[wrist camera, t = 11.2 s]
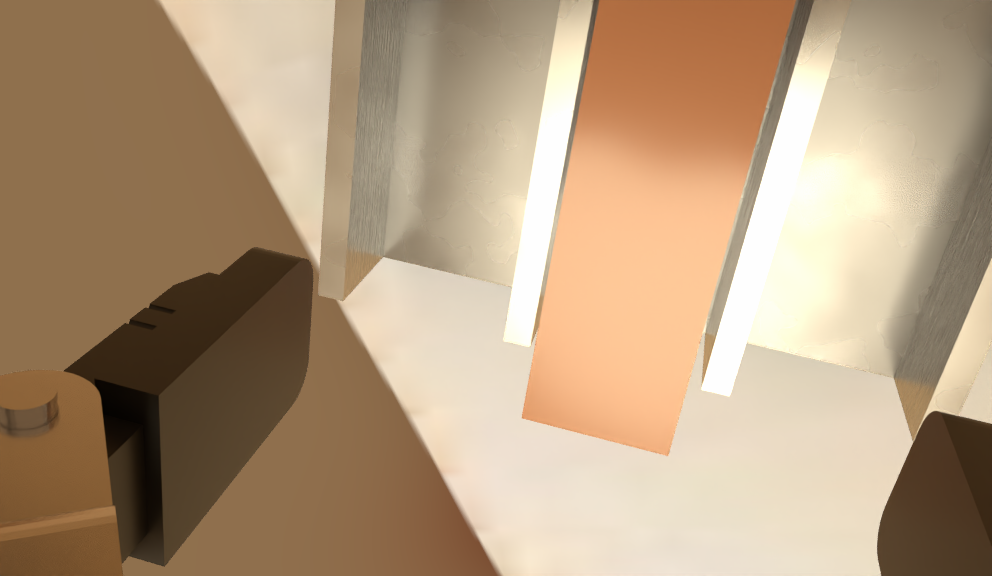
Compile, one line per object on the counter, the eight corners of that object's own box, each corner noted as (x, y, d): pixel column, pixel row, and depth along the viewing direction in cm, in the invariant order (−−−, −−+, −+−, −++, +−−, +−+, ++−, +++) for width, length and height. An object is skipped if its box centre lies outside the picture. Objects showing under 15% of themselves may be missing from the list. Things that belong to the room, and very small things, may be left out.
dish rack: (360, 238, 31) (306, 291, 27) (397, -221, 25) (333, -238, 21) (928, 371, 29) (958, 453, 25) (1129, -110, 22) (1214, -104, 18)
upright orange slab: (669, -124, 24) (620, -116, 14) (785, -105, 23) (818, -83, 14) (596, 227, 28) (521, 418, 18) (692, 248, 28) (667, 456, 18)
